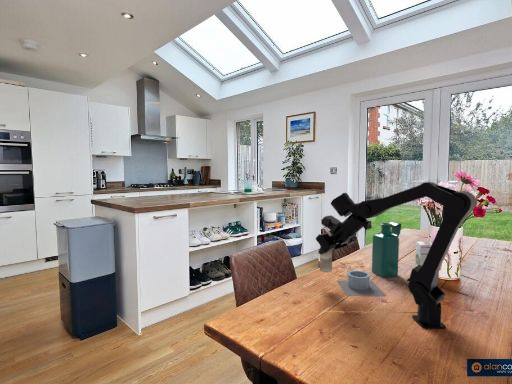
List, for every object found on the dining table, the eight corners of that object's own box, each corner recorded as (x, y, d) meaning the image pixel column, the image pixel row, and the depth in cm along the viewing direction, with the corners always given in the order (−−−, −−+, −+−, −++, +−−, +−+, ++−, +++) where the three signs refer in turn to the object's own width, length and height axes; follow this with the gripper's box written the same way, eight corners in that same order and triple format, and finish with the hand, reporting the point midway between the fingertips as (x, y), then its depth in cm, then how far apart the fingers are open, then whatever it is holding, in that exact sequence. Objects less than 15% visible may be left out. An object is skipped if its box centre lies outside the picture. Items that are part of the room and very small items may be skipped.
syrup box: (435, 280, 117) (436, 245, 116) (419, 279, 118) (420, 244, 117) (429, 275, 122) (431, 241, 121) (414, 274, 124) (415, 241, 123)
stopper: (332, 272, 107) (333, 245, 107) (320, 271, 108) (320, 245, 107) (330, 268, 112) (331, 242, 111) (319, 268, 112) (319, 242, 111)
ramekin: (372, 290, 107) (372, 278, 107) (350, 289, 107) (351, 277, 107) (365, 281, 115) (365, 270, 115) (345, 281, 115) (345, 270, 115)
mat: (386, 297, 102) (386, 296, 102) (346, 296, 103) (346, 295, 102) (372, 281, 116) (372, 280, 116) (336, 281, 116) (336, 280, 116)
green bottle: (382, 278, 119) (384, 225, 118) (369, 271, 127) (371, 221, 126) (402, 276, 122) (404, 224, 120) (388, 269, 130) (390, 220, 128)
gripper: (349, 206, 112) (324, 231, 120) (320, 211, 99) (295, 238, 108) (368, 230, 106) (341, 254, 115) (341, 238, 94) (312, 264, 103)
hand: (322, 252), depth 110 cm, fingers closed on stopper, 4 cm apart
